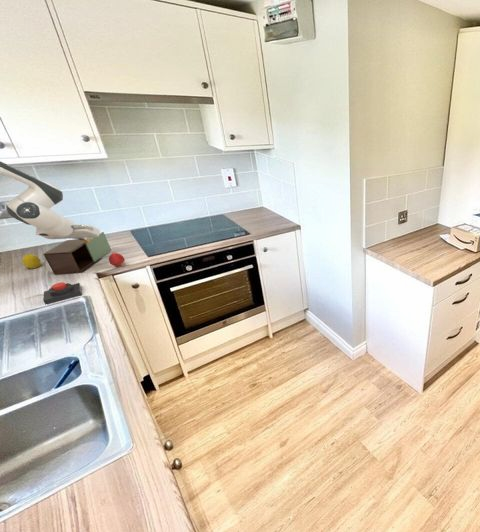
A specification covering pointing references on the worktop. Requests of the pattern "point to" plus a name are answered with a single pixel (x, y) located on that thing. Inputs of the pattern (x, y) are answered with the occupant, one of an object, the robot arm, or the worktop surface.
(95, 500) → the worktop surface
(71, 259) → the cabinet
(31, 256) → the lemon
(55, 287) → the button
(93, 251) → the sliding door
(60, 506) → the worktop surface
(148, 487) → the worktop surface
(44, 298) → the button box
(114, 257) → the onion
